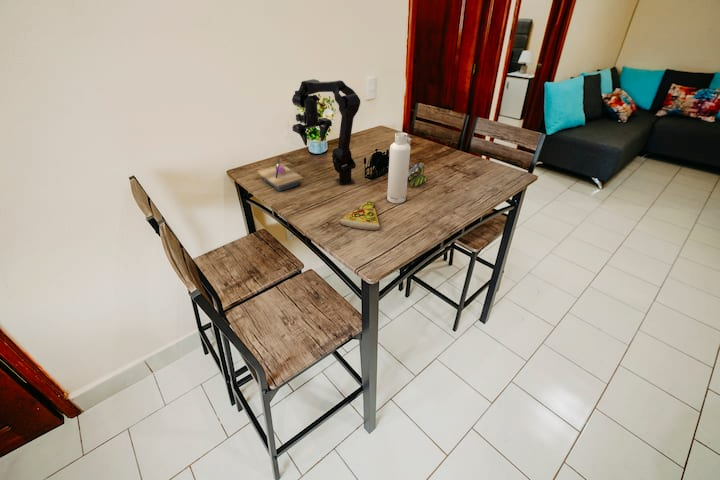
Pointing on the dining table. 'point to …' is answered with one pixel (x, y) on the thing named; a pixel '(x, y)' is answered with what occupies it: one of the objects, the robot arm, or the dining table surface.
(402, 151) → the bottle
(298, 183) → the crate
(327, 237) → the dining table surface
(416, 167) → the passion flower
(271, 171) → the board
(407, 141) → the drinking glass
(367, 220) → the pizza slice
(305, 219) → the dining table surface
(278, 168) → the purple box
